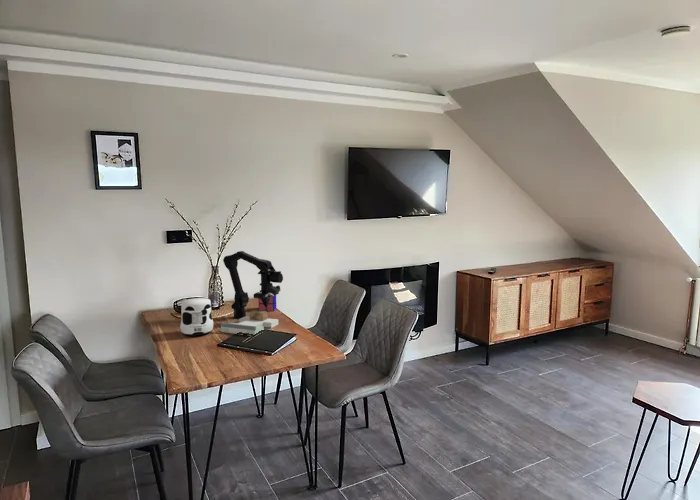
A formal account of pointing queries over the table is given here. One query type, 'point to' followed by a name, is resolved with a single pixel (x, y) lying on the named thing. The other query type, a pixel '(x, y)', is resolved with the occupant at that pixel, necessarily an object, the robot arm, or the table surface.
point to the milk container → (196, 316)
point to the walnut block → (258, 315)
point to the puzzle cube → (270, 305)
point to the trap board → (248, 325)
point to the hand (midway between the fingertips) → (266, 307)
